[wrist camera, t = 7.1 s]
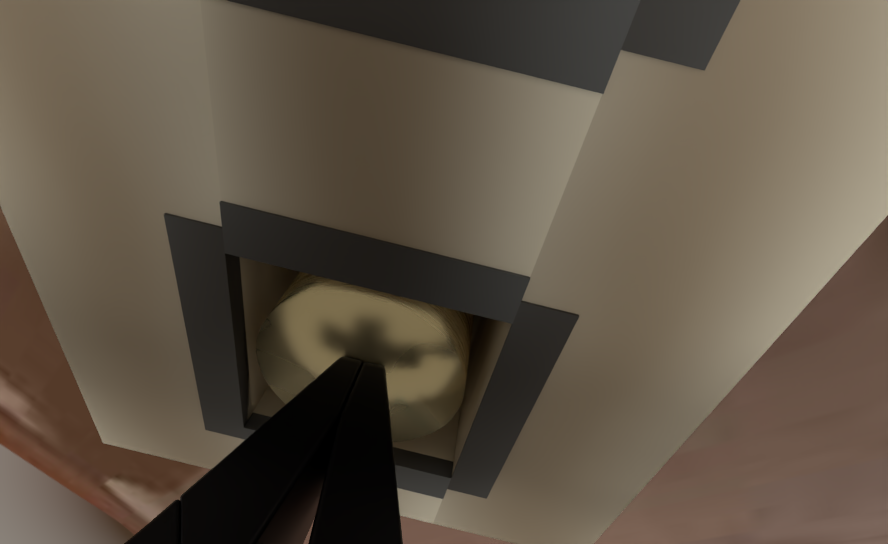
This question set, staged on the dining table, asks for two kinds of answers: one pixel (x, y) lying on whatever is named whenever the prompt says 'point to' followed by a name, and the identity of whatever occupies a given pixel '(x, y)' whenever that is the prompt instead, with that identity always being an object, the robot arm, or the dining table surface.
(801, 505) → the dining table surface
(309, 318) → the brass peg
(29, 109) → the collar block
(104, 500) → the dining table surface
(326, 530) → the robot arm
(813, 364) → the dining table surface
